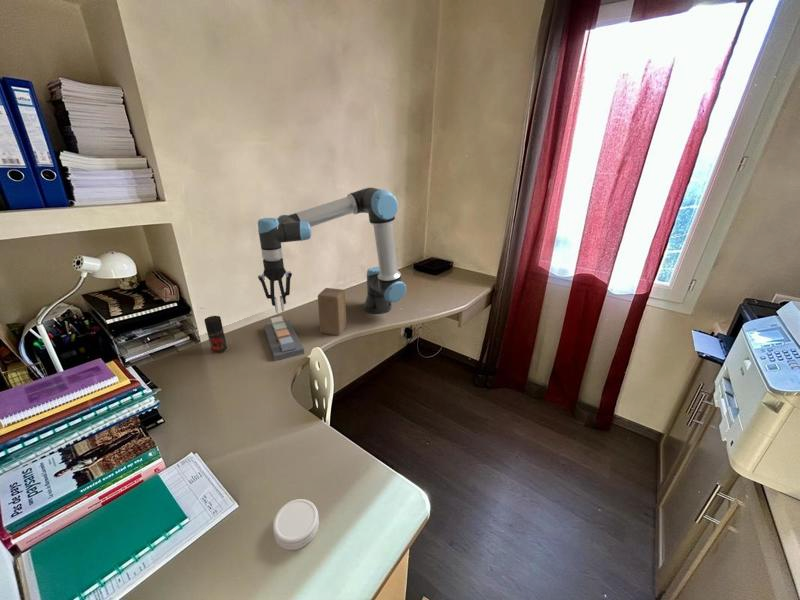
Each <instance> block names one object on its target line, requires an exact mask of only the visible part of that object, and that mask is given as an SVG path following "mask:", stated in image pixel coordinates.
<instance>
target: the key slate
mask: <svg viewBox="0 0 800 600" xmlns="http://www.w3.org/2000/svg"><path fill="white" fill-rule="evenodd" d="M279 342H280V347H281V352H286V351H290V350H294V341H293V339H292V337H291V336H290V337H286V338H281V339H279Z"/></svg>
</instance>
